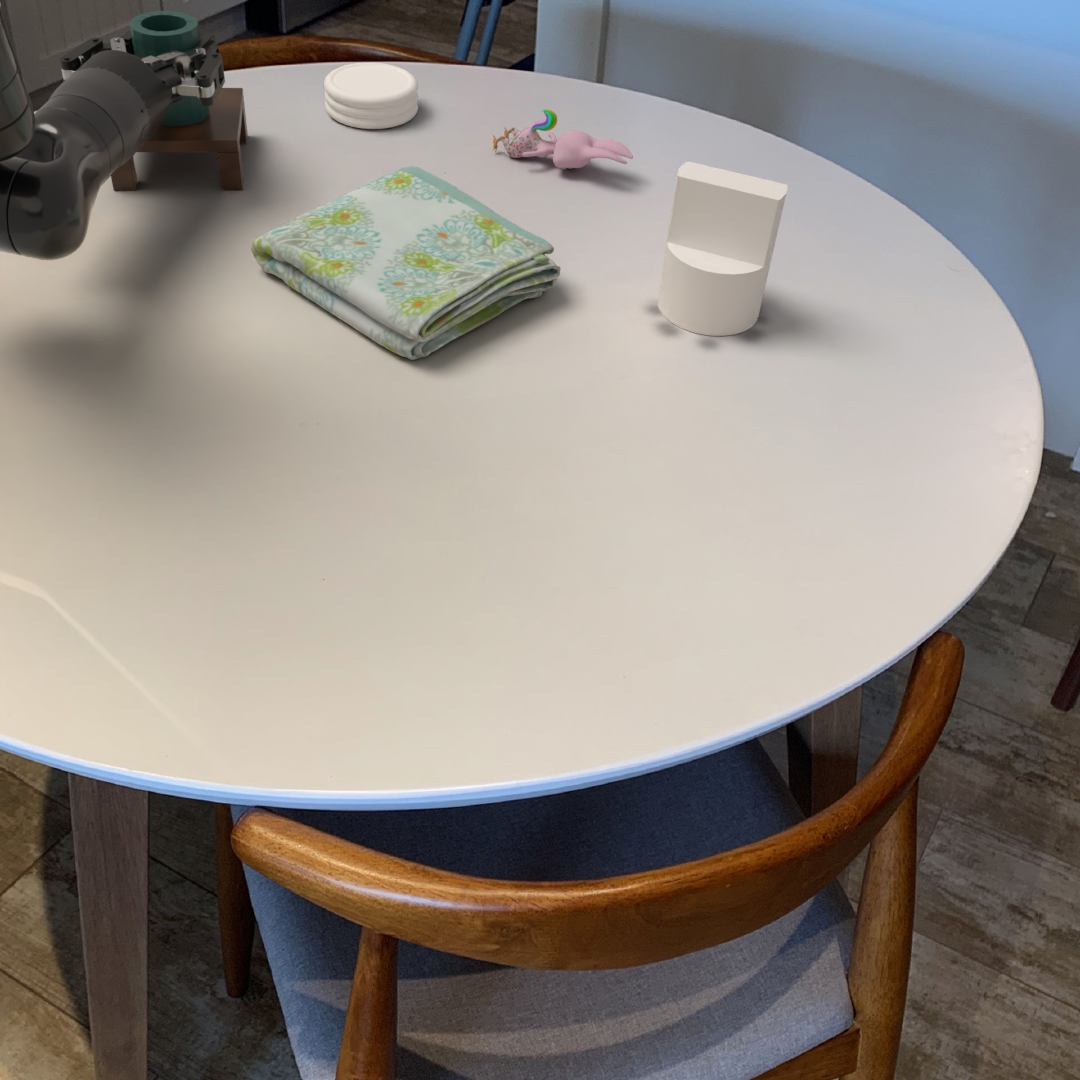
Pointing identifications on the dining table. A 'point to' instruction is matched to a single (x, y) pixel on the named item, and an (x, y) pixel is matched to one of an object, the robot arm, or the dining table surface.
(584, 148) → the rabbit figure
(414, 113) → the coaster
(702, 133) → the dining table surface
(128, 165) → the stand
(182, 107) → the jar
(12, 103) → the robot arm
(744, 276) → the base with upright slab
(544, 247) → the towel
